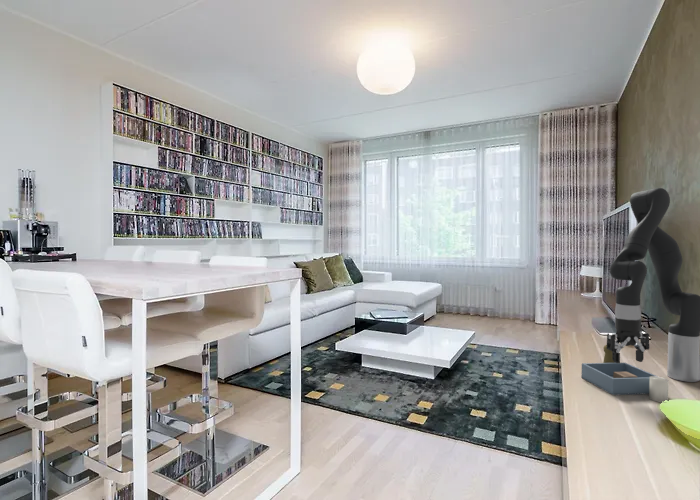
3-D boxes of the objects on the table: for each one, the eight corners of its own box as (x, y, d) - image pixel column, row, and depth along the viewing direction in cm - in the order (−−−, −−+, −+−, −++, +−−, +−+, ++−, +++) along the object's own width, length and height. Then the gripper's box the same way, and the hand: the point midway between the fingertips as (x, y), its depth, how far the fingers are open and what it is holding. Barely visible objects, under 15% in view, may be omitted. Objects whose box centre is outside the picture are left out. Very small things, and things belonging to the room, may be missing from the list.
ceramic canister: (659, 396, 134) (659, 375, 134) (671, 402, 129) (672, 381, 129) (645, 396, 133) (645, 376, 133) (657, 402, 128) (658, 381, 128)
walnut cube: (626, 385, 142) (626, 371, 142) (637, 390, 137) (637, 376, 137) (613, 385, 142) (613, 371, 141) (623, 390, 137) (623, 376, 136)
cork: (611, 375, 154) (612, 347, 153) (598, 370, 159) (598, 343, 159) (623, 374, 155) (624, 346, 155) (609, 369, 161) (610, 342, 161)
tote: (624, 376, 152) (625, 362, 152) (661, 393, 136) (661, 377, 135) (581, 377, 151) (581, 363, 151) (612, 394, 135) (613, 379, 134)
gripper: (638, 313, 142) (638, 357, 143) (601, 315, 141) (601, 359, 142) (655, 318, 135) (655, 364, 135) (617, 319, 134) (616, 366, 134)
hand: (627, 361), depth 138 cm, fingers open, 8 cm apart
